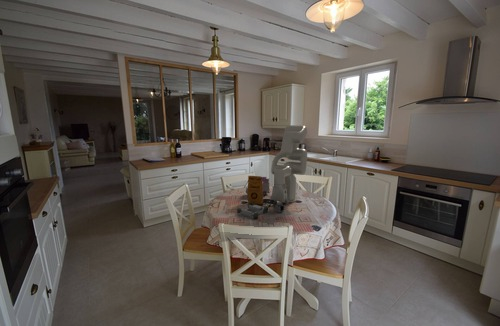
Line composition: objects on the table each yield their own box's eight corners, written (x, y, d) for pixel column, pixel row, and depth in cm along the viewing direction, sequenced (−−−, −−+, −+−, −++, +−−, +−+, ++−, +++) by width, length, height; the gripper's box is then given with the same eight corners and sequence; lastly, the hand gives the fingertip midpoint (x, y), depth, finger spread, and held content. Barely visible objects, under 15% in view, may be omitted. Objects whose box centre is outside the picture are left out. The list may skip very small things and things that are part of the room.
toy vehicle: (245, 194, 195) (245, 177, 192) (266, 192, 201) (266, 176, 198) (248, 197, 187) (248, 180, 184) (269, 195, 192) (270, 178, 189)
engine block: (278, 207, 162) (278, 201, 161) (283, 209, 160) (283, 202, 159) (274, 210, 158) (274, 204, 157) (279, 212, 155) (279, 205, 154)
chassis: (251, 206, 168) (251, 201, 167) (268, 211, 159) (268, 205, 158) (236, 214, 153) (236, 209, 153) (254, 220, 145) (254, 214, 144)
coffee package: (261, 206, 169) (261, 178, 164) (245, 204, 172) (245, 176, 168) (264, 201, 178) (265, 174, 174) (249, 199, 182) (249, 173, 177)
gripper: (292, 186, 153) (292, 210, 157) (271, 182, 162) (271, 205, 166) (288, 189, 147) (287, 214, 151) (266, 184, 156) (266, 208, 160)
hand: (278, 209), depth 159 cm, fingers closed on engine block, 4 cm apart
